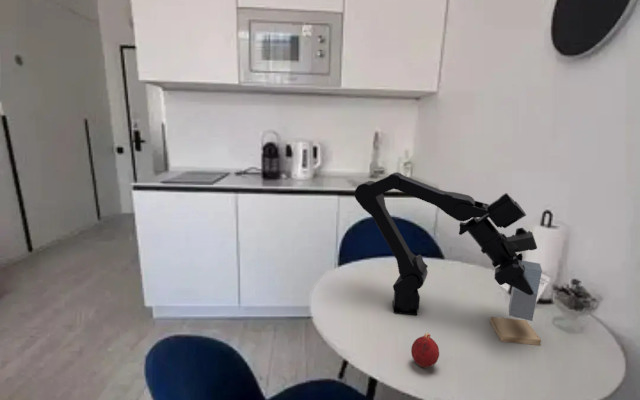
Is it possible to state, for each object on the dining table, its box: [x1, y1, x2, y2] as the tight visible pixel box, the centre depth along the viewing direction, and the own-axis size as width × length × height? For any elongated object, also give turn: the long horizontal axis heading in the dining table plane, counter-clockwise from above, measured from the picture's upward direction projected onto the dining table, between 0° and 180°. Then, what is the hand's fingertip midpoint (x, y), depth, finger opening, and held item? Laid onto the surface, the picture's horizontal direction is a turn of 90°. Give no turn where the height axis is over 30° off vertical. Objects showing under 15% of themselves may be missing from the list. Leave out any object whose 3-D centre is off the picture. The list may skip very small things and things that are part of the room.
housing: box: [508, 259, 543, 322], centre depth 91 cm, size 5×5×13 cm
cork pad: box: [489, 316, 542, 346], centre depth 95 cm, size 9×9×2 cm
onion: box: [410, 332, 440, 368], centre depth 80 cm, size 6×6×8 cm
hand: (531, 289), depth 90 cm, fingers closed on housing, 5 cm apart
